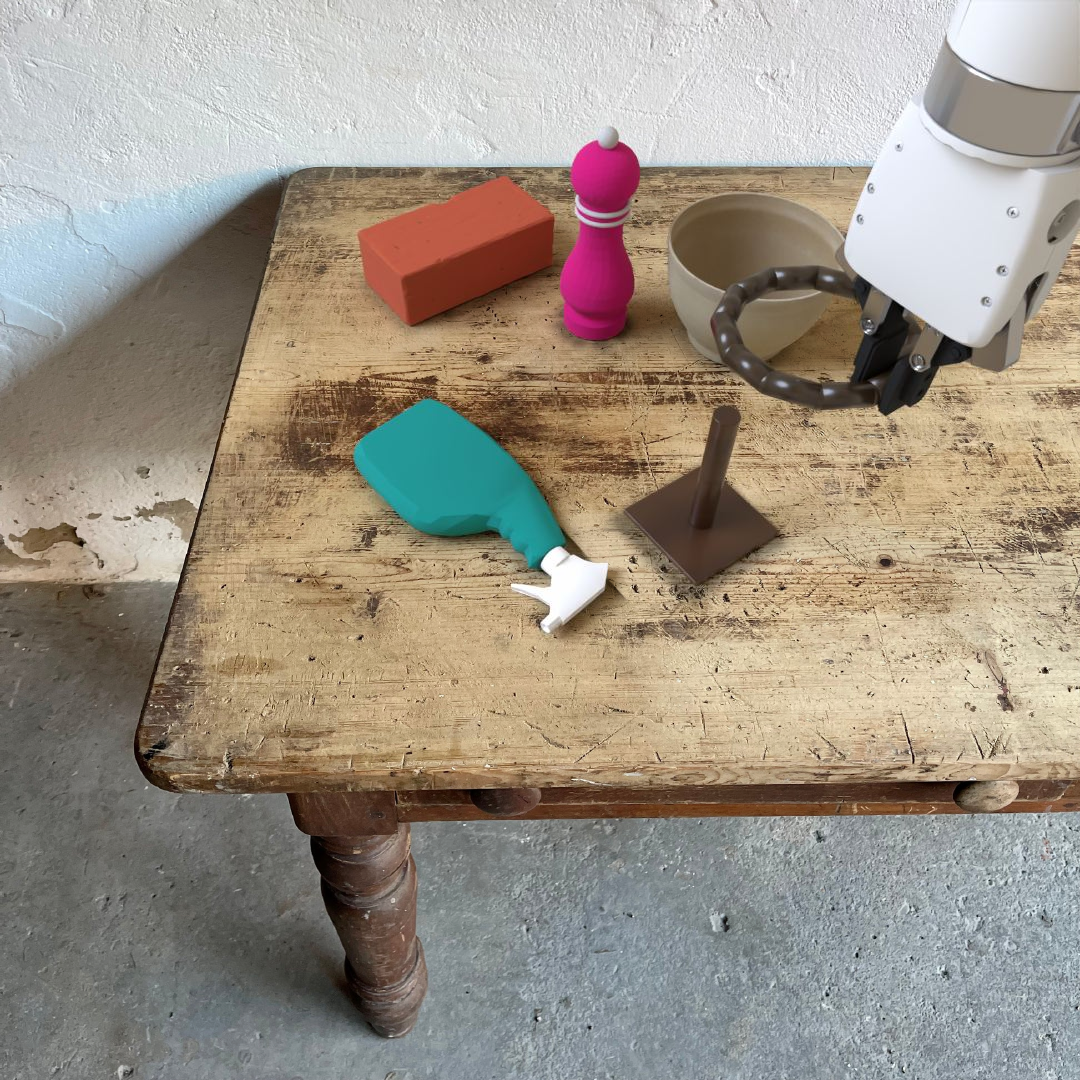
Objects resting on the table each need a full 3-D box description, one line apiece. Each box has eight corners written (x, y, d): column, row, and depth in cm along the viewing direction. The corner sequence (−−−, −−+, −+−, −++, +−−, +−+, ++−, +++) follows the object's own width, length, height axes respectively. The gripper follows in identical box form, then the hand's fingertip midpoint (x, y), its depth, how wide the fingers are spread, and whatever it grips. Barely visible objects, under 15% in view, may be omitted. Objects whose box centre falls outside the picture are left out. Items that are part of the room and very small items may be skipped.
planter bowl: (681, 404, 82) (699, 309, 74) (636, 296, 92) (647, 200, 83) (844, 382, 84) (880, 287, 76) (783, 278, 94) (809, 183, 85)
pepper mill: (554, 340, 88) (560, 146, 72) (563, 294, 92) (570, 102, 76) (627, 348, 87) (650, 154, 71) (632, 301, 91) (655, 109, 75)
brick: (408, 327, 88) (401, 277, 84) (364, 281, 93) (355, 230, 88) (554, 265, 95) (556, 214, 90) (506, 224, 99) (506, 174, 94)
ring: (963, 360, 57) (973, 340, 55) (816, 445, 52) (823, 426, 51) (812, 258, 63) (817, 238, 62) (669, 326, 58) (672, 306, 57)
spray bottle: (441, 409, 82) (636, 573, 71) (343, 469, 77) (536, 654, 67) (439, 385, 79) (640, 552, 69) (337, 446, 75) (536, 634, 64)
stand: (776, 539, 73) (818, 426, 63) (693, 592, 70) (723, 482, 59) (703, 472, 77) (730, 355, 67) (622, 518, 74) (637, 403, 64)
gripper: (1227, 147, 37) (1027, 446, 52) (933, 7, 45) (831, 303, 60) (1122, 203, 35) (943, 502, 49) (828, 45, 42) (749, 344, 57)
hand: (882, 391), depth 55 cm, fingers closed on ring, 1 cm apart
